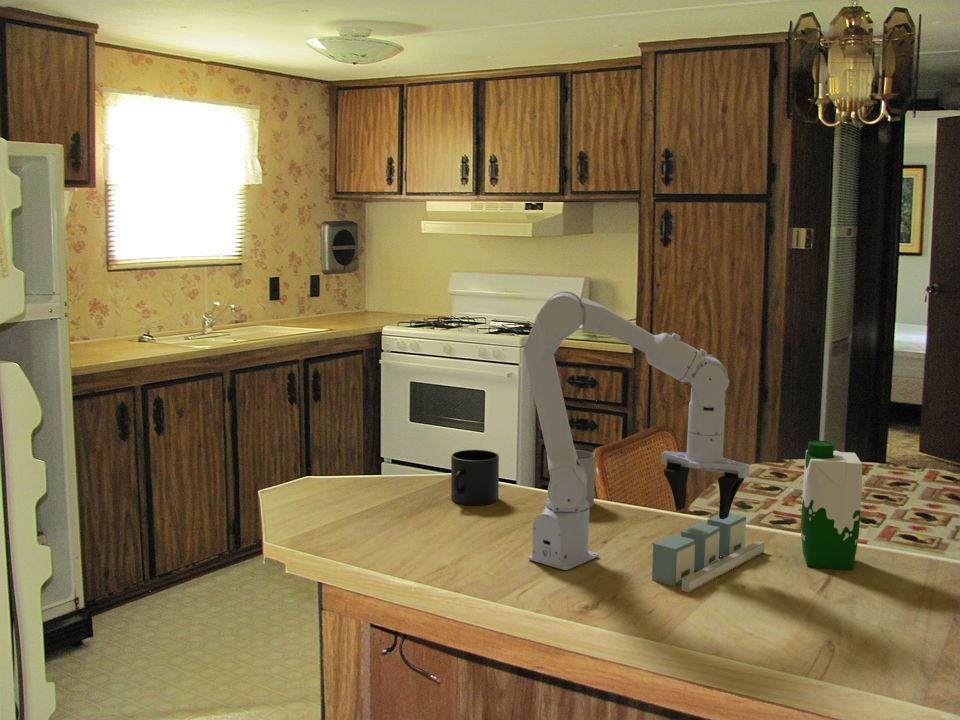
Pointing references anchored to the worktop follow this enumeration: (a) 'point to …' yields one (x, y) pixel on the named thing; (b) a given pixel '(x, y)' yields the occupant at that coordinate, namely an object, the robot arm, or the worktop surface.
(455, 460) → the mug
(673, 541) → the tea box
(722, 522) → the tea box
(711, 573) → the rail
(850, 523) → the milk carton
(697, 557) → the tea box
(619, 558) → the worktop surface
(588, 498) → the cup
